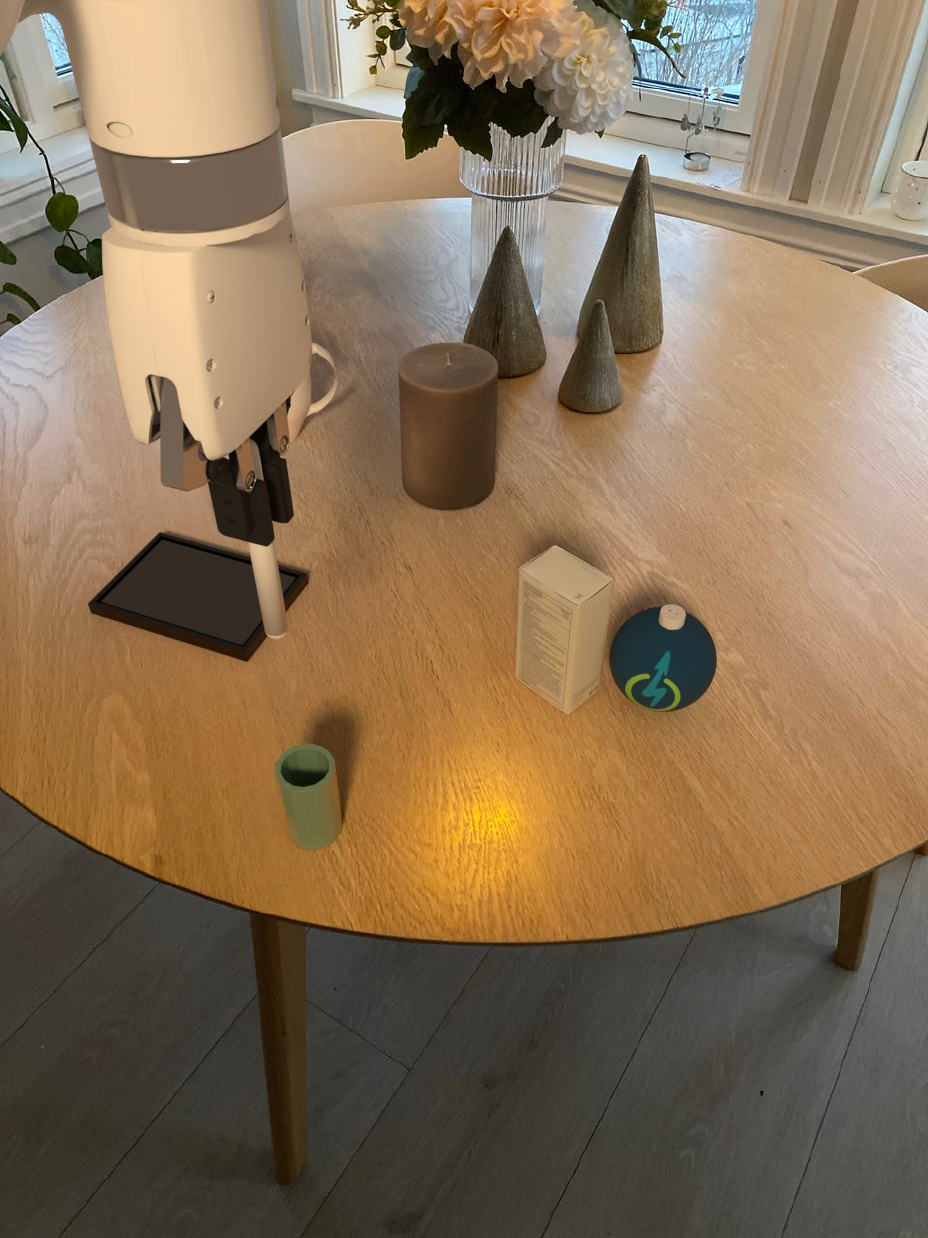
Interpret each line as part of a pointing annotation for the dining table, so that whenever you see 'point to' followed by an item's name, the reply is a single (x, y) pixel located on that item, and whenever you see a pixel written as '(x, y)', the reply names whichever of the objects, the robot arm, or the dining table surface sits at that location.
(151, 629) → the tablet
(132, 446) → the dining table surface
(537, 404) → the dining table surface
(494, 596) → the dining table surface
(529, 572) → the cosmetic box
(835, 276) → the dining table surface
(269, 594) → the stylus
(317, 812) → the pen pot
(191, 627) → the screen
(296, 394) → the mug
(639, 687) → the christmas ornament
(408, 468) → the pillar candle
